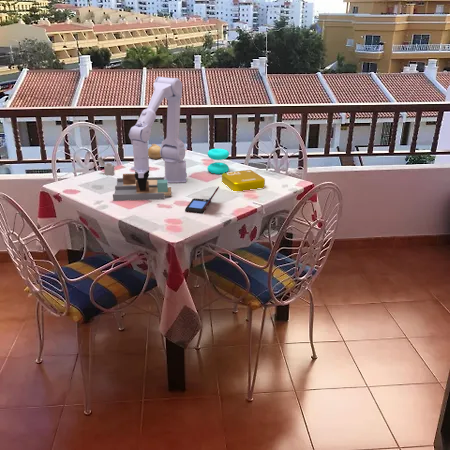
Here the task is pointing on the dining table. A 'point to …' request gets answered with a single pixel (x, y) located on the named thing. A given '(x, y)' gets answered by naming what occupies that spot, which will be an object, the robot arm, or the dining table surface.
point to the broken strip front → (129, 179)
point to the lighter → (107, 167)
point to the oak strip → (152, 190)
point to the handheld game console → (199, 205)
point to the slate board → (130, 191)
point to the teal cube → (162, 185)
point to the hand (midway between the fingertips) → (142, 189)
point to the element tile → (243, 180)
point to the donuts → (217, 166)
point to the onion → (154, 151)
